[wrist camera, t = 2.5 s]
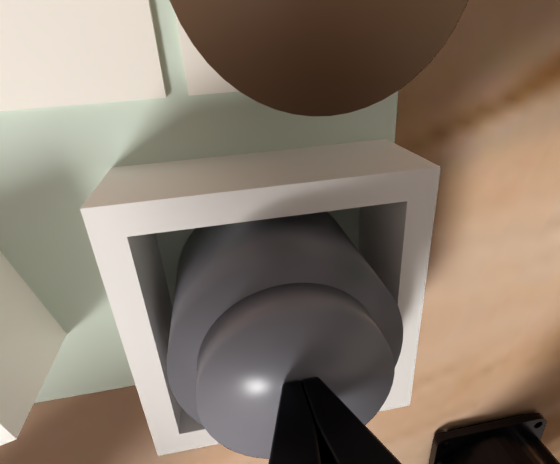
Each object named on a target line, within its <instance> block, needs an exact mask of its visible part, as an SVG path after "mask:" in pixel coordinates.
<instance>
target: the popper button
mask: <svg viewBox="0 0 560 464" xmlns="http://www.w3.org/2000/svg"><path fill="white" fill-rule="evenodd" d="M402 343H403V323H402V317H401V314H400V310H399V307H398V305H397V303H396V301H395V299H394V297H393V296H392V294H391V293H390V292H389V290H388V289H387V288H386V286H385V285H384V284H383V282H382V281H381V280H380V278H379V277H378V276H377V274H376V273H375V272H374V270H373V269H372V268H371V266H370V265H369V264H368V262H367V261H366V260H365V258H364V257H363V256H362V254H361V253H360V252H359V251H358V249H357V248H356V247H355V245H354V244H353V243H352V241H351V240H350V239H349V237H348V236H347V235H346V233H345V232H344V231H343V229H342V228H341V227H340V225H339V224H338V223H337V222H336V220H335V219H334V218H333V217H332V216H331V215H330V214H329V213H328V212H327V211H326V212H318V213H311V214H303V215H295V216H287V217H279V218H271V219H263V220H256V221H248V222H240V223H232V224H224V225H216V226H209V227H201V228H195V229H194V231H193V232H192V234H191V235H190V236H189V238H188V239H187V241H186V243H185V245H184V247H183V250H182V252H181V255H180V258H179V263H178V269H177V277H176V285H175V294H174V302H173V310H172V318H171V327H170V335H169V343H168V351H167V375H168V381H169V384H170V387H171V390H172V393H173V395H174V396H175V398H176V400H177V402H178V403H179V405H180V406H181V407H182V408H183V409H184V411H185V412H186V413H187V414H188V415H189V416H190V417H192V418H193V419H194V420H195V421H196V422H198V423H199V424H201V425H202V426H204V428H205V429H206V431H207V432H208V433H209V434H210V436H211V437H213V438H214V439H215V440H216V441H217V442H218V443H220V444H221V445H223V446H224V447H226V448H228V449H230V450H232V451H234V452H237V453H240V454H243V455H246V456H250V457H255V458H263V459H269V458H270V452H271V447H272V441H273V435H274V430H275V424H276V418H277V412H278V407H279V401H280V395H281V389H282V385H283V383H285V382H289V381H295V380H299V381H300V382H301V380H302V379H306V378H311V377H319V378H320V379H321V380H322V381H323V382H324V383H325V384H326V385H327V386H328V387H329V388H330V389H331V390H332V391H333V392H334V393H335V394H336V396H337V397H338V398H339V399H340V400H341V401H342V402H343V403H344V404H345V405H346V406H347V407H348V408H349V409H350V410H351V411H352V412H353V413H354V414H355V415H356V416H357V417H358V419H359V420H360V421H361V422H362V423H363V424H364V425H366V424H367V423H368V422H369V421H370V420H371V419H372V418H373V417H374V416H375V415H376V414H377V412H378V411H379V410H380V408H381V407H382V405H383V404H384V402H385V401H386V399H387V397H388V395H389V393H390V390H391V387H392V384H393V380H394V374H395V366H396V364H397V362H398V359H399V356H400V353H401V348H402Z"/></svg>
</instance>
